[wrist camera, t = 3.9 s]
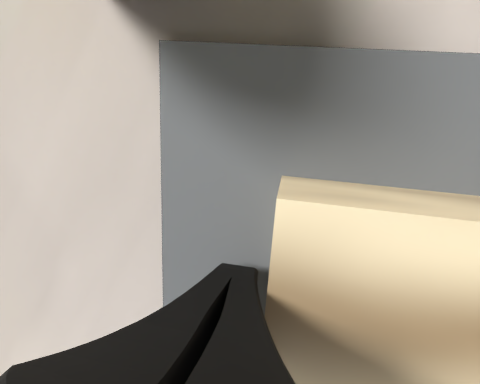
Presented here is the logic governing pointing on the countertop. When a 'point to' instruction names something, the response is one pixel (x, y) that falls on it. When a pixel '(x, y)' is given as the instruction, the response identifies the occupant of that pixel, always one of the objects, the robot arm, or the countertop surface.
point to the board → (299, 138)
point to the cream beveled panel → (375, 284)
